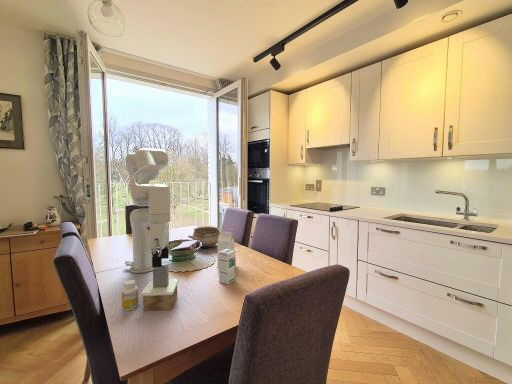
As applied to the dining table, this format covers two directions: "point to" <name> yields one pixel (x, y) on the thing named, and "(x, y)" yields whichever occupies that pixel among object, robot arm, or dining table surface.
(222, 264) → the syrup box
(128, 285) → the supplement bottle
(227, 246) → the milk carton
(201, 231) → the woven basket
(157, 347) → the dining table surface
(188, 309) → the dining table surface
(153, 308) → the box
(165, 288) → the lid
